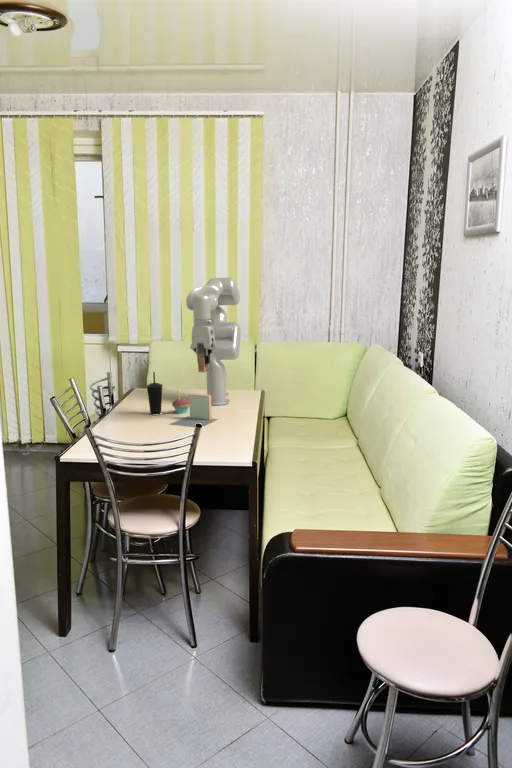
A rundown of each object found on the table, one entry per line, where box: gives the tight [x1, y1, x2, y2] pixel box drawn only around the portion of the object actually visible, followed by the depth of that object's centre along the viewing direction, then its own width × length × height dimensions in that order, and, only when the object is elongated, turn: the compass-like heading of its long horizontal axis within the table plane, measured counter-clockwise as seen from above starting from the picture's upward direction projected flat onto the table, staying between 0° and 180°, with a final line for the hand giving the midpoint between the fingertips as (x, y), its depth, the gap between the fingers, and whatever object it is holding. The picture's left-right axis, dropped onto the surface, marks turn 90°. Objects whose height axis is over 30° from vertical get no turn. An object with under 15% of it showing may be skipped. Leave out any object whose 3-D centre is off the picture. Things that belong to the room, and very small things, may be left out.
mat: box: [168, 415, 219, 428], centre depth 274 cm, size 16×16×1 cm
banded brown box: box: [197, 342, 209, 373], centre depth 280 cm, size 5×3×14 cm
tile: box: [188, 393, 213, 420], centre depth 278 cm, size 2×10×11 cm, turn 65°
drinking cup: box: [145, 371, 164, 415], centre depth 291 cm, size 8×8×20 cm
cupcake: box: [171, 389, 190, 414], centre depth 291 cm, size 9×8×12 cm
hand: (203, 363), depth 281 cm, fingers closed on banded brown box, 3 cm apart
